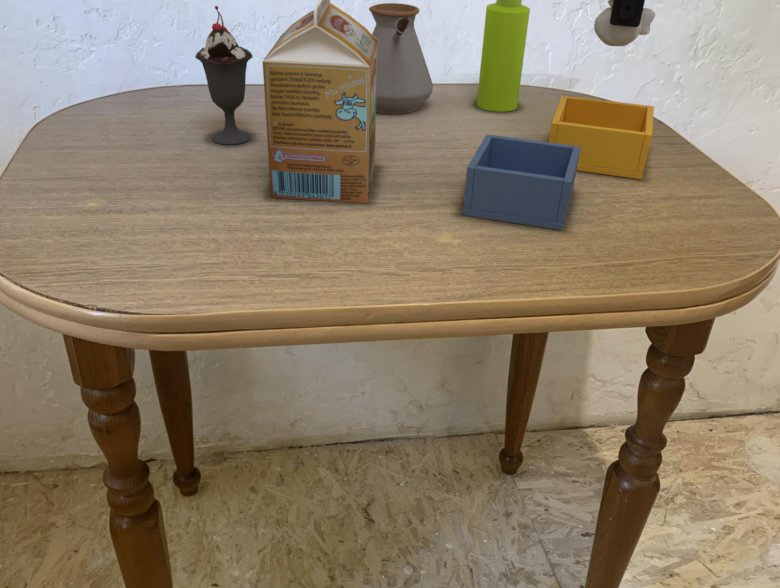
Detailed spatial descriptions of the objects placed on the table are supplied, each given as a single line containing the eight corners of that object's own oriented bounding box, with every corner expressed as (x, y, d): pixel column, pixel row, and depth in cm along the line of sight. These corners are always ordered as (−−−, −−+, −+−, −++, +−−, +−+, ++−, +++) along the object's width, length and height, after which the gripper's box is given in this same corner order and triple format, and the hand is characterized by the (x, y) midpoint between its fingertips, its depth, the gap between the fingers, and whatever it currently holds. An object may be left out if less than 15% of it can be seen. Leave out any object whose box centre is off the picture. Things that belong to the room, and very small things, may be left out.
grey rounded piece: (585, 39, 90) (598, -39, 85) (640, 40, 90) (656, -37, 85) (598, 51, 86) (613, -30, 81) (655, 52, 86) (674, -29, 81)
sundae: (230, 125, 102) (219, 0, 93) (268, 137, 99) (260, 9, 90) (193, 138, 97) (177, 8, 88) (231, 151, 94) (219, 18, 85)
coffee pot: (351, 93, 115) (351, -20, 106) (427, 94, 116) (434, -17, 107) (354, 143, 98) (355, 15, 89) (444, 144, 99) (454, 17, 90)
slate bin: (572, 192, 88) (581, 146, 85) (562, 230, 80) (571, 181, 77) (481, 179, 90) (486, 134, 87) (462, 215, 82) (467, 166, 79)
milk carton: (286, 162, 92) (278, -15, 81) (374, 166, 92) (378, -10, 80) (270, 197, 84) (259, 6, 72) (367, 203, 84) (371, 11, 72)
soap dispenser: (529, 110, 111) (552, -47, 99) (483, 112, 110) (500, -48, 98) (515, 98, 116) (535, -54, 104) (471, 100, 114) (486, -55, 102)
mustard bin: (644, 147, 101) (654, 106, 97) (641, 179, 92) (652, 135, 89) (555, 135, 103) (561, 95, 100) (544, 166, 94) (551, 122, 91)
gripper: (709, -180, 68) (659, 40, 79) (702, -181, 81) (660, 8, 92) (623, -184, 69) (585, 33, 80) (629, -184, 83) (596, 2, 94)
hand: (625, 17), depth 86 cm, fingers closed on grey rounded piece, 5 cm apart
